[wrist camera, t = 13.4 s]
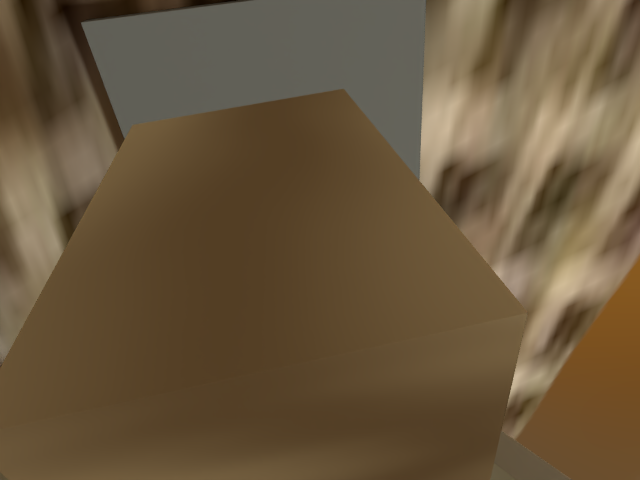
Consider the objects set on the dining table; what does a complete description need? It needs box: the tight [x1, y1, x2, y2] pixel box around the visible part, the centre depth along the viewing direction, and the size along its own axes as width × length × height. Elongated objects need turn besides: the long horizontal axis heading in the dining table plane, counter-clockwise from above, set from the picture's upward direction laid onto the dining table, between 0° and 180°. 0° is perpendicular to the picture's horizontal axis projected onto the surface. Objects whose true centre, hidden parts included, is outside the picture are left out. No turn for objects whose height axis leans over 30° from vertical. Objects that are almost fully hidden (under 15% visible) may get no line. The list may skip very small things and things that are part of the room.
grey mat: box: [81, 0, 426, 180], centre depth 22 cm, size 14×16×1 cm
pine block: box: [0, 89, 528, 480], centre depth 10 cm, size 4×7×14 cm
